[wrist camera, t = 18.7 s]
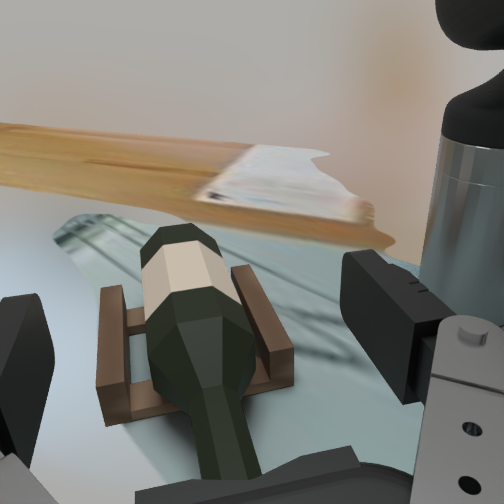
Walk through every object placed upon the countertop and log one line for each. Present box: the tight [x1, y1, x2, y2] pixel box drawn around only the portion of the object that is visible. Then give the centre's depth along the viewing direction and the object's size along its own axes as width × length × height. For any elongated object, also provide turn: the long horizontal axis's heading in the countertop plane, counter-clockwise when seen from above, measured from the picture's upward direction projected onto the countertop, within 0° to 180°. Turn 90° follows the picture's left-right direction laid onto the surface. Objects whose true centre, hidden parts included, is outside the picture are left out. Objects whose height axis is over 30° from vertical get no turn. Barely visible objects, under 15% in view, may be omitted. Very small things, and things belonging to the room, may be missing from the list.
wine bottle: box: [140, 223, 262, 480], centre depth 35 cm, size 8×8×30 cm
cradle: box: [96, 264, 294, 427], centre depth 41 cm, size 15×14×4 cm
